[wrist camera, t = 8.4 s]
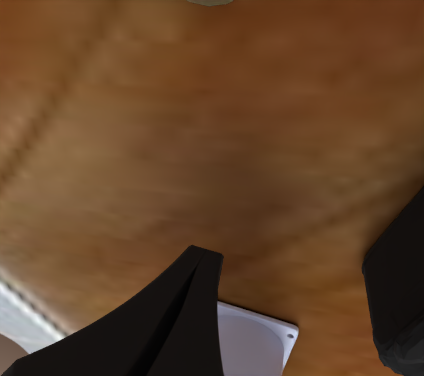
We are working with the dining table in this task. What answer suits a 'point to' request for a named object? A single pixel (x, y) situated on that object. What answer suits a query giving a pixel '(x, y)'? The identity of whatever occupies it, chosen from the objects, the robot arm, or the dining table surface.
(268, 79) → the dining table surface
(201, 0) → the cork
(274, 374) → the robot arm
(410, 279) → the film camera
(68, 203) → the dining table surface
